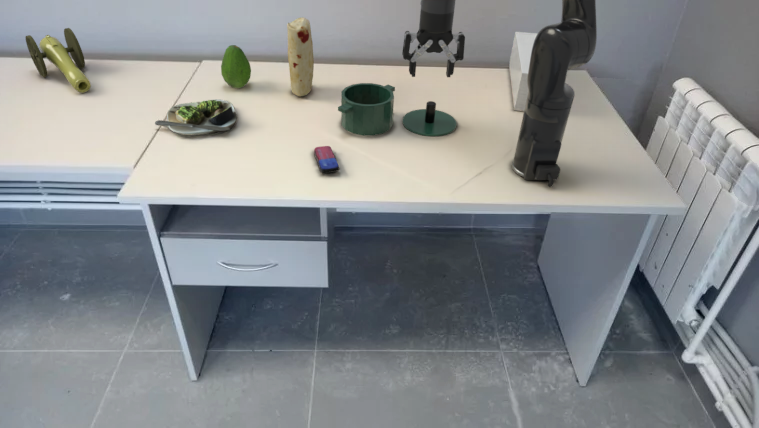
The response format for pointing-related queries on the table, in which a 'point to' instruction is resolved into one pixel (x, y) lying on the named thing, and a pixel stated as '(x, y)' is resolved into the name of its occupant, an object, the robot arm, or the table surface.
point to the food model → (300, 56)
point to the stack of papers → (520, 67)
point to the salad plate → (200, 117)
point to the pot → (367, 108)
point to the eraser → (326, 159)
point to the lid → (429, 121)
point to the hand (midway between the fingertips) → (430, 75)
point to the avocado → (235, 67)
